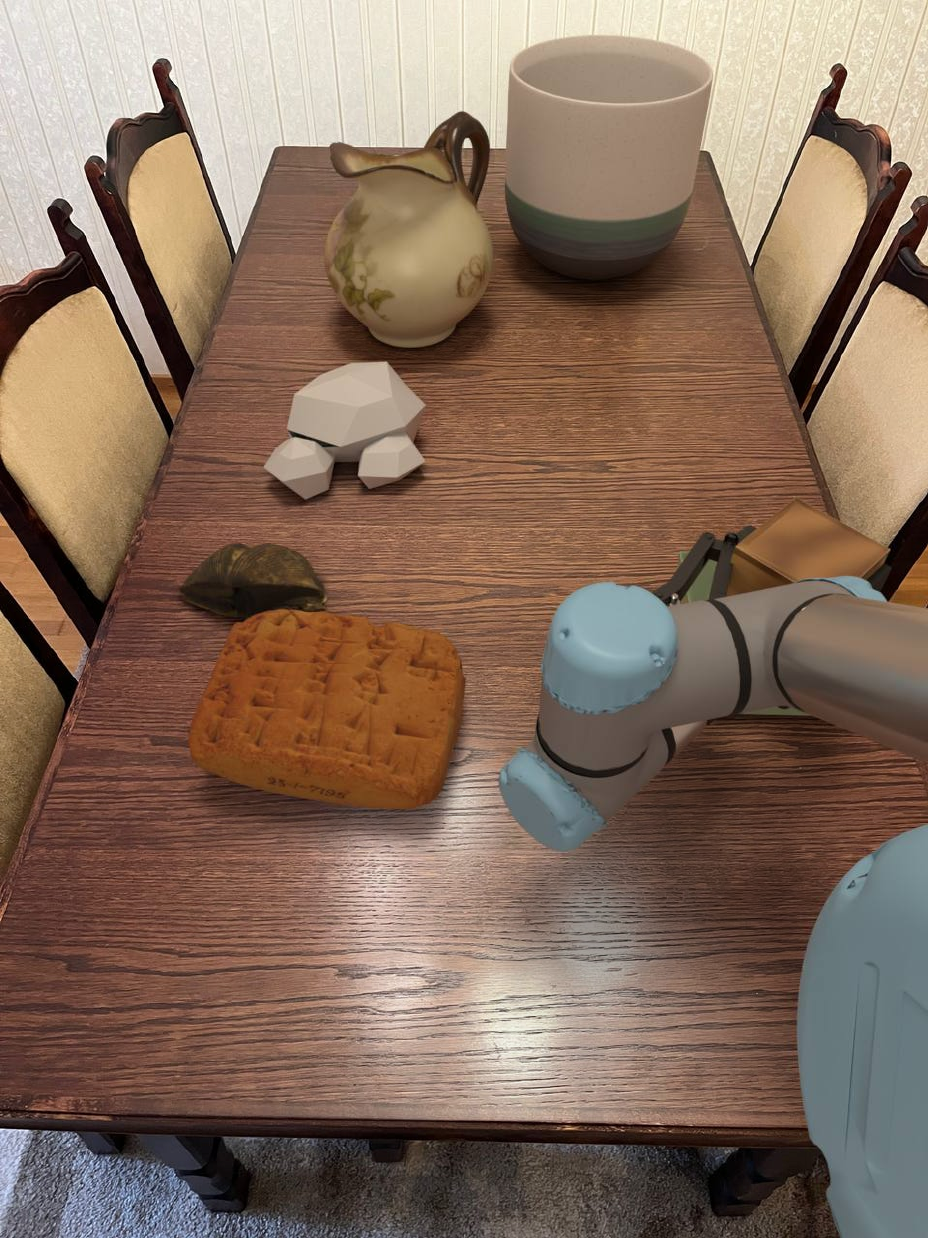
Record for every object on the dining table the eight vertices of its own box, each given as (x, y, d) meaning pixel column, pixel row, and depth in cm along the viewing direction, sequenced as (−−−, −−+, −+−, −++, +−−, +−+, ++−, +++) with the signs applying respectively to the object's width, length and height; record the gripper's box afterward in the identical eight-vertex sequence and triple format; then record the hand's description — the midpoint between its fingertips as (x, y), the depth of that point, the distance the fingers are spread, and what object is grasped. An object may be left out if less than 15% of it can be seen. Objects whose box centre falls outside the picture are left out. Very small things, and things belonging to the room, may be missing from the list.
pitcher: (325, 369, 120) (300, 174, 101) (340, 280, 135) (320, 97, 117) (494, 369, 120) (500, 174, 101) (489, 280, 136) (493, 97, 117)
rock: (449, 482, 104) (448, 412, 97) (278, 521, 100) (263, 451, 93) (403, 395, 116) (399, 327, 109) (248, 426, 111) (233, 358, 104)
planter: (651, 218, 149) (681, 30, 129) (699, 302, 131) (742, 99, 111) (490, 227, 147) (495, 37, 126) (516, 314, 129) (527, 109, 109)
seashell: (165, 615, 90) (154, 555, 86) (208, 570, 97) (200, 512, 93) (319, 646, 87) (316, 586, 83) (352, 597, 94) (350, 539, 90)
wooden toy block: (854, 621, 81) (890, 549, 74) (799, 676, 77) (831, 605, 70) (769, 569, 85) (795, 496, 78) (712, 618, 81) (735, 546, 74)
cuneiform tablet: (186, 795, 77) (163, 742, 71) (254, 644, 88) (239, 587, 82) (439, 840, 74) (437, 788, 68) (477, 678, 86) (478, 622, 80)
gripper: (559, 642, 76) (718, 518, 87) (780, 808, 66) (931, 645, 76) (567, 580, 71) (736, 455, 81) (810, 751, 60) (969, 583, 70)
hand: (831, 547), depth 78 cm, fingers closed on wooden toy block, 9 cm apart
